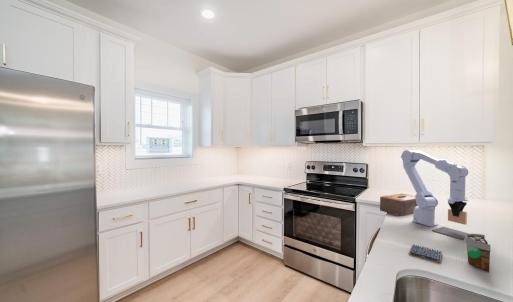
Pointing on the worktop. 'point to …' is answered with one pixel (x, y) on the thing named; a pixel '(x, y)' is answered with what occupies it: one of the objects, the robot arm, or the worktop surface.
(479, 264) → the food container
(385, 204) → the tissue box cover
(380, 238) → the worktop surface
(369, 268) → the worktop surface
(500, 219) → the worktop surface
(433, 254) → the spiky blue-grey pad
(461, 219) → the tile
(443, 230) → the mat
